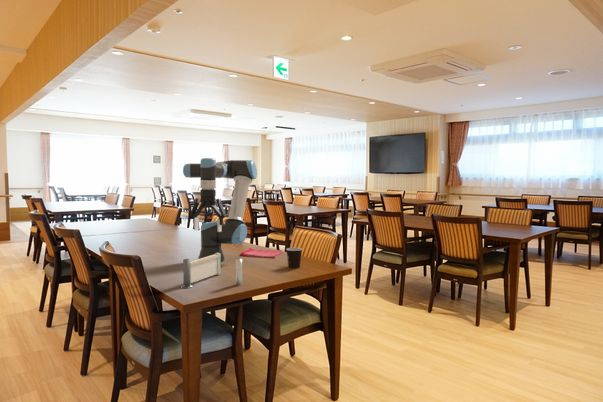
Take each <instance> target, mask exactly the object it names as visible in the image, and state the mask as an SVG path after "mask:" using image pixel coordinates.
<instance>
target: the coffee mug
mask: <svg viewBox="0 0 603 402" xmlns="http://www.w3.org/2000/svg"><path fill="white" fill-rule="evenodd" d="M302 252H303V248H300V247H288V248H286V257H287V266H288V268H289V269H300V268H301V260H302V254H303V253H302Z"/></svg>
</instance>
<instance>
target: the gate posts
mask: <svg viewBox="0 0 603 402" xmlns="http://www.w3.org/2000/svg"><path fill="white" fill-rule="evenodd" d="M235 285H236V286H243V258H235ZM180 287H182V288H181V289H189V288H188V287H191V288H194V284H193V283H190V285H187V286H185V285H184V283H183V284H181V285H179V288H180Z"/></svg>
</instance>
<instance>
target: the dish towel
mask: <svg viewBox="0 0 603 402" xmlns="http://www.w3.org/2000/svg"><path fill="white" fill-rule="evenodd" d="M282 252H283V250H282V249H281V250H279V251H278V250H271V249H269V250H268V249H255V248H249V249H246V250H244V251H242V252H240V255H239V256H240V257H250V258H264V259H276V258H277V256H278V257H280V256H281V255H283V254H282ZM280 254H281V255H280ZM279 255H280V256H279Z"/></svg>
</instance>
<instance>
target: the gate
mask: <svg viewBox="0 0 603 402" xmlns="http://www.w3.org/2000/svg"><path fill="white" fill-rule="evenodd" d="M220 256H221V254H220V253H215V254H214V255H211V256H207V257H204V258H200V259H198V258H197V259H194V260H191V259H189V258H183V259H182V264H183V265H182V269H183V270H182V271H183V272H182V273H183V275H182V276H183V284H184V285H185V286H187V285H190V284H193V283H196V282H198V281H201V280H205V279H206V278H209V277H212V276H215V275H221V274H222V269H221V259H220ZM190 260H191V261H190Z"/></svg>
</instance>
